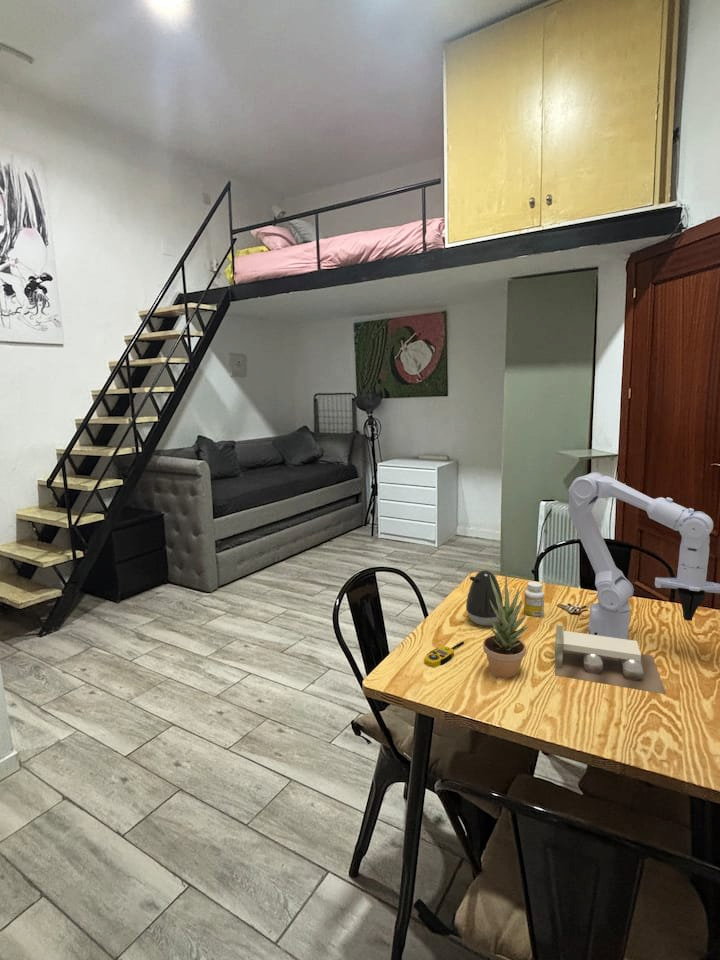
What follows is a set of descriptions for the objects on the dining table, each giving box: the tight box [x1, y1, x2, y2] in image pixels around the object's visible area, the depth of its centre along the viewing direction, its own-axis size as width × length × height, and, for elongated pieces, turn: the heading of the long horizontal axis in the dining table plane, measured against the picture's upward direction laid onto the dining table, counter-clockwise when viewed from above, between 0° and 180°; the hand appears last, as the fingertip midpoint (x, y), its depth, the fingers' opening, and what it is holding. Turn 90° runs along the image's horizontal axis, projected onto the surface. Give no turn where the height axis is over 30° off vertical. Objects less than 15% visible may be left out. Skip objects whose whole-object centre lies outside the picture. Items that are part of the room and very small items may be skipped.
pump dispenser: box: [465, 569, 504, 627], centre depth 144 cm, size 10×10×15 cm
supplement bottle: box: [523, 580, 545, 619], centre depth 148 cm, size 5×5×10 cm
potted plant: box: [482, 574, 529, 679], centre depth 117 cm, size 10×10×25 cm
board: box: [554, 624, 667, 695], centre depth 119 cm, size 22×17×7 cm
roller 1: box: [583, 653, 603, 674], centre depth 121 cm, size 4×10×4 cm
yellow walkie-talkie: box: [423, 641, 465, 668], centre depth 128 cm, size 5×2×15 cm
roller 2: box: [620, 658, 644, 680], centre depth 118 cm, size 4×10×4 cm
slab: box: [563, 630, 642, 661], centre depth 120 cm, size 16×7×2 cm, turn 69°
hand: (687, 618), depth 122 cm, fingers closed
